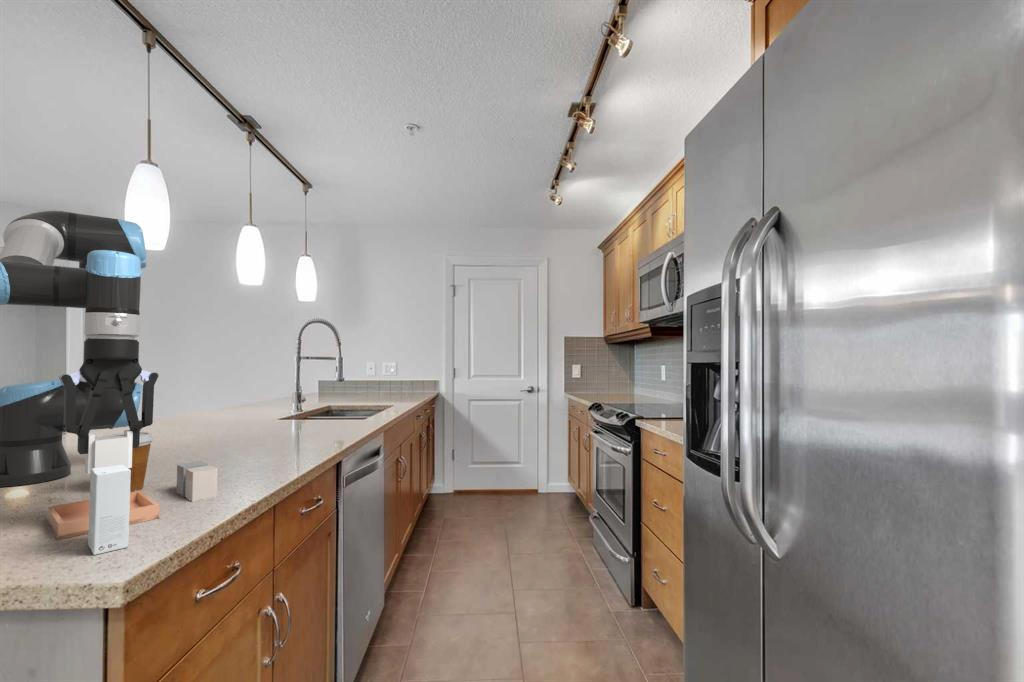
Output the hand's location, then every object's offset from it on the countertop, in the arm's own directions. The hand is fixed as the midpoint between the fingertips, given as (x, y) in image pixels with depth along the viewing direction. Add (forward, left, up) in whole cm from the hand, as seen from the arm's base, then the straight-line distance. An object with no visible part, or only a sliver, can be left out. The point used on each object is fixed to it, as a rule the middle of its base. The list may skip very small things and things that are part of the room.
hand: (108, 469), depth 83 cm
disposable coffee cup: (-24, +7, -10) cm, 27 cm away
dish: (-3, 0, -10) cm, 10 cm away
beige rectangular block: (-5, +16, -10) cm, 19 cm away
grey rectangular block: (-11, +16, -10) cm, 22 cm away
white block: (0, 0, 0) cm, 0 cm away
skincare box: (+13, -2, -10) cm, 16 cm away
